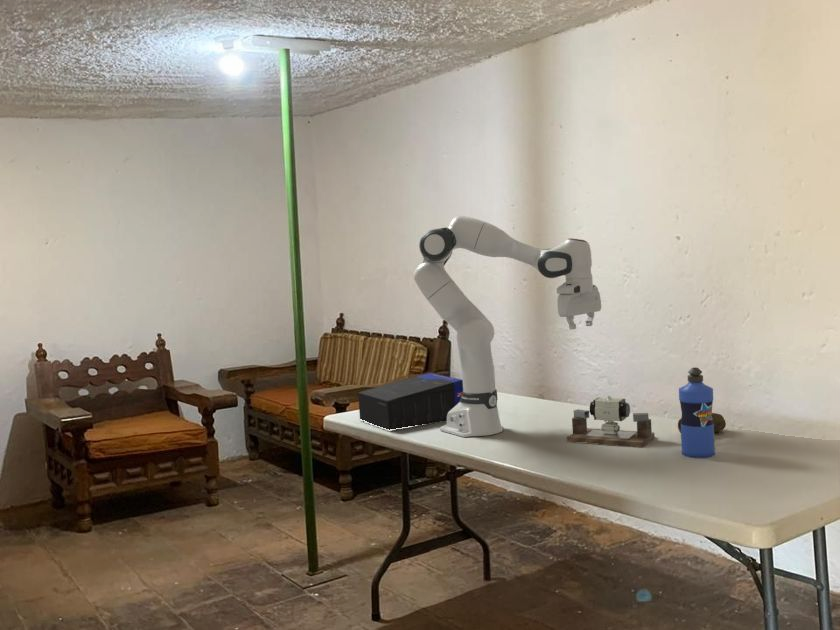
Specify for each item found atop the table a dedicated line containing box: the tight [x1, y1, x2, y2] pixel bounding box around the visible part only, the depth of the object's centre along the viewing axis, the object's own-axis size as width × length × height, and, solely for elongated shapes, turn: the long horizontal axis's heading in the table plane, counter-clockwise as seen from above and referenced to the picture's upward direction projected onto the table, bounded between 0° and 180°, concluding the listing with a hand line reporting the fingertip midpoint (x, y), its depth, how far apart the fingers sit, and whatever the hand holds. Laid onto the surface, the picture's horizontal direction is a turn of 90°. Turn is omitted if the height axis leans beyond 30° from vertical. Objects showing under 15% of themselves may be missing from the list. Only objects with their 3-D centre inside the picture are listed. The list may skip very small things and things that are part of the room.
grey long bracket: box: [573, 408, 649, 439], centre depth 259 cm, size 24×8×7 cm, turn 59°
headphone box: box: [357, 372, 463, 430], centre depth 309 cm, size 25×35×14 cm
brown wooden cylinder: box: [677, 412, 727, 434], centre depth 258 cm, size 15×7×7 cm, turn 116°
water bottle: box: [678, 367, 716, 459], centre depth 236 cm, size 9×9×25 cm
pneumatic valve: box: [589, 395, 631, 435], centre depth 258 cm, size 6×12×12 cm, turn 59°
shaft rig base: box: [566, 416, 656, 448], centre depth 259 cm, size 24×13×6 cm, turn 59°
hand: (581, 327), depth 277 cm, fingers open, 8 cm apart
